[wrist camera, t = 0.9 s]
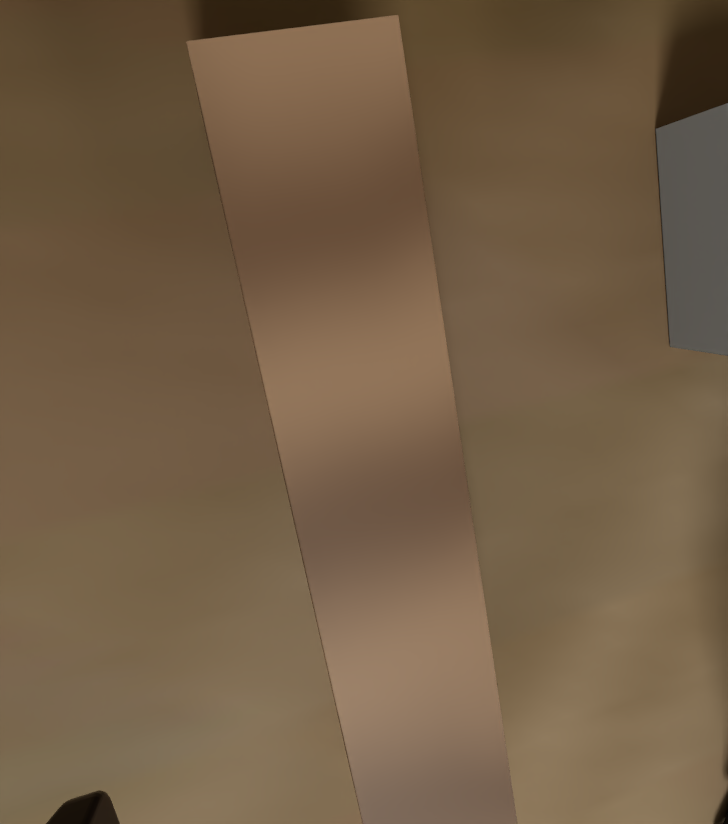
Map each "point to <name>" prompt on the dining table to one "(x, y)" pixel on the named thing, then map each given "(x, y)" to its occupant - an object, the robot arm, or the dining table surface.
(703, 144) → the ridge stand
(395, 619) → the walnut bar
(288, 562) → the dining table surface
